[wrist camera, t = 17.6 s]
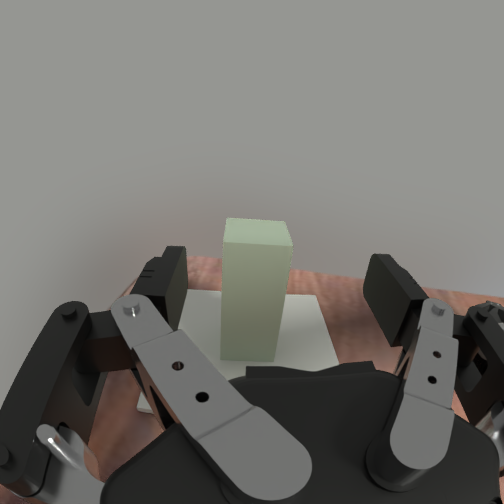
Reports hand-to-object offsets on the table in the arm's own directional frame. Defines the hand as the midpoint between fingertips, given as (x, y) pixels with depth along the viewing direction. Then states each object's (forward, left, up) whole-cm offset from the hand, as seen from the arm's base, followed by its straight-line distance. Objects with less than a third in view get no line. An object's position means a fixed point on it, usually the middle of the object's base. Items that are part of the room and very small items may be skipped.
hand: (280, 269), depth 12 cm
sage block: (0, -11, -15) cm, 18 cm away
